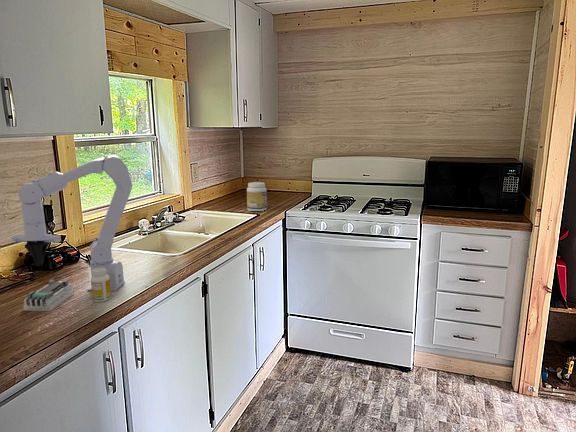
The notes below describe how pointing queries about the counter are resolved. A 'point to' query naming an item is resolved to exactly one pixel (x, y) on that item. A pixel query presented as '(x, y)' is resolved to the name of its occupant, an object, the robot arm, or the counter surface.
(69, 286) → the heat sink
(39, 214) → the robot arm
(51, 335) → the counter surface
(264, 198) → the supplement tub
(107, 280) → the supplement bottle
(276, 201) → the counter surface
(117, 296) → the counter surface
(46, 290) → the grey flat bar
